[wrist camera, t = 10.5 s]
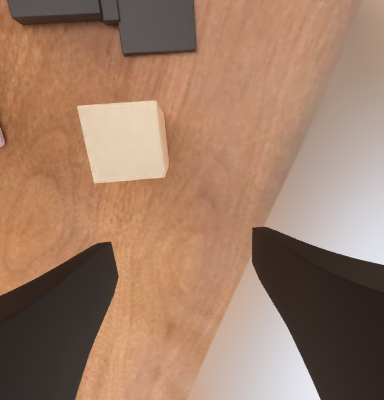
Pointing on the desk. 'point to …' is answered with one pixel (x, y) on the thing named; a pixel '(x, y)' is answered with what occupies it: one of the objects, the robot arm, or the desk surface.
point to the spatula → (121, 20)
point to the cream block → (125, 140)
